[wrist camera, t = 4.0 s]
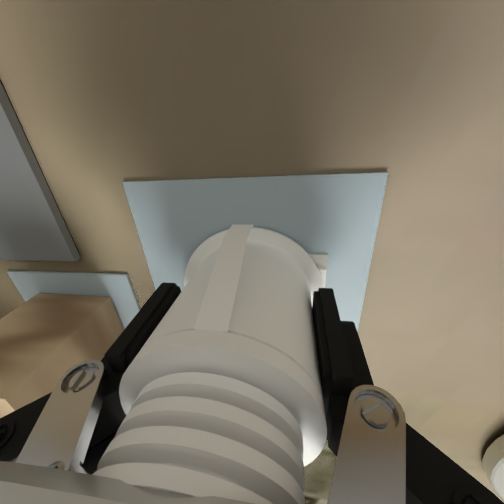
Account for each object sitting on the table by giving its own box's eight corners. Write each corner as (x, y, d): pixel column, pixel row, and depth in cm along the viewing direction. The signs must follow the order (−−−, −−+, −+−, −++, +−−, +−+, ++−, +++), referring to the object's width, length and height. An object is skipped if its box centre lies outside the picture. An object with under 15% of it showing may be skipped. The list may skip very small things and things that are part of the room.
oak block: (110, 296, 14) (4, 399, 9) (134, 354, 17) (62, 462, 11) (37, 293, 15) (-98, 385, 10) (71, 349, 17) (-24, 447, 12)
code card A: (381, 169, 10) (389, 172, 9) (348, 355, 15) (350, 367, 14) (132, 178, 11) (121, 182, 11) (179, 342, 17) (174, 353, 16)
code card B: (134, 267, 14) (125, 276, 13) (166, 360, 18) (160, 370, 17) (19, 264, 15) (4, 272, 15) (71, 351, 19) (62, 361, 18)
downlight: (317, 349, 14) (364, 745, 5) (199, 341, 15) (61, 650, 6) (328, 213, 10) (557, 703, 1) (174, 215, 11) (-242, 499, 3)
